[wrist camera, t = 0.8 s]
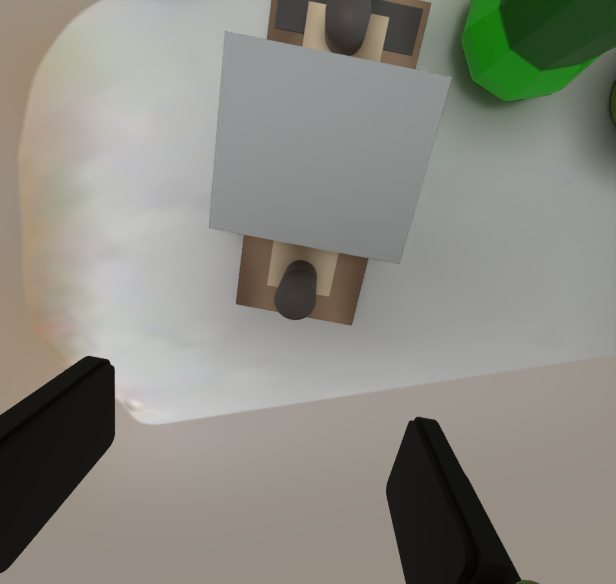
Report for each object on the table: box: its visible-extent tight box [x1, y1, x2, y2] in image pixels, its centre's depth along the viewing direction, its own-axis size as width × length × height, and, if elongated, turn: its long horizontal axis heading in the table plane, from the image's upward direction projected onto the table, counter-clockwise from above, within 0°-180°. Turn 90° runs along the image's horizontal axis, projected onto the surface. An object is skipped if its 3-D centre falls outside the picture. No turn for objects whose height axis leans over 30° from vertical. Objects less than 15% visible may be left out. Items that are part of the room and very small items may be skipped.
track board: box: [236, 0, 431, 325], centre depth 28 cm, size 12×27×1 cm, turn 170°
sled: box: [267, 0, 389, 320], centre depth 23 cm, size 6×22×8 cm, turn 170°
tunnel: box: [209, 31, 452, 264], centre depth 23 cm, size 13×11×8 cm
